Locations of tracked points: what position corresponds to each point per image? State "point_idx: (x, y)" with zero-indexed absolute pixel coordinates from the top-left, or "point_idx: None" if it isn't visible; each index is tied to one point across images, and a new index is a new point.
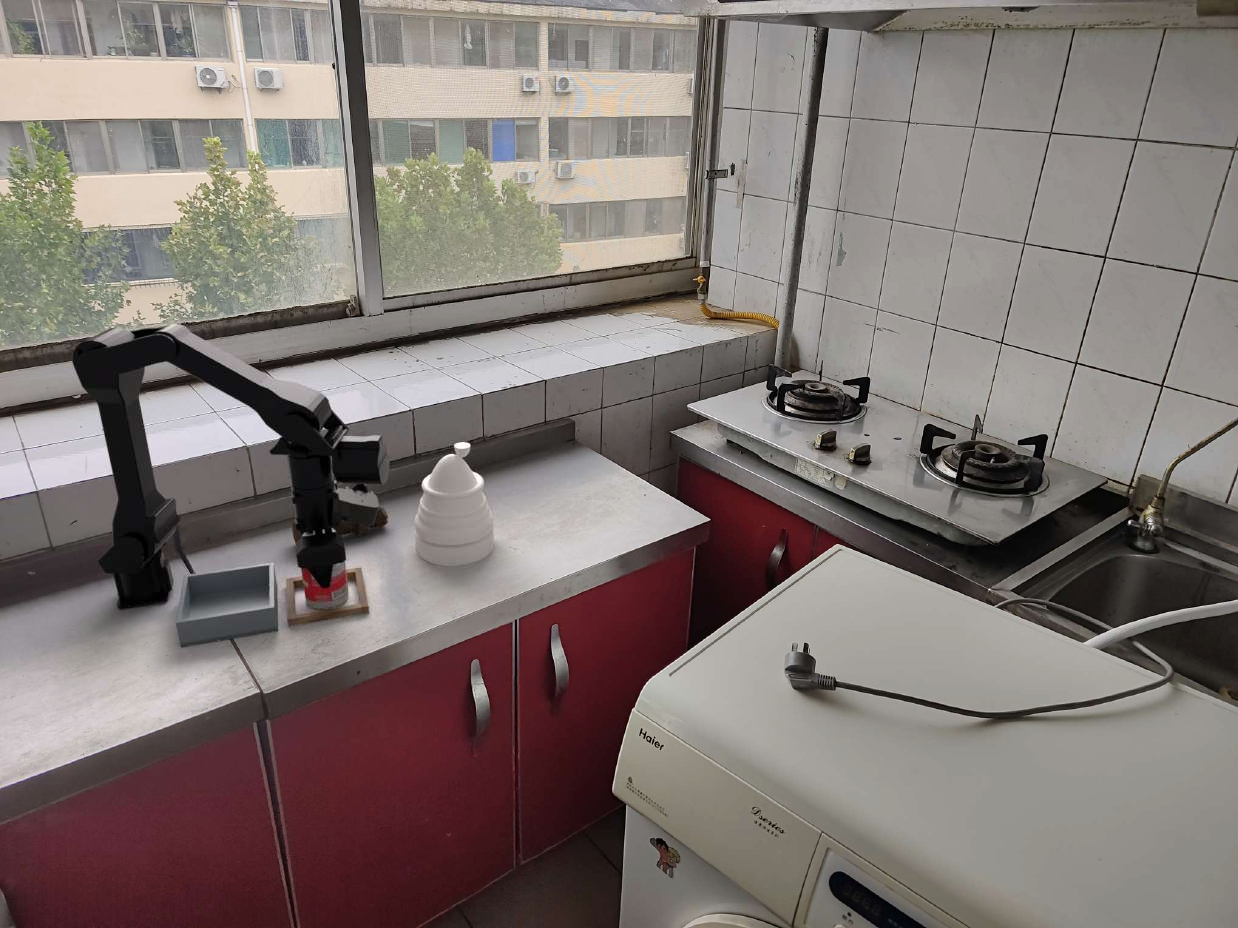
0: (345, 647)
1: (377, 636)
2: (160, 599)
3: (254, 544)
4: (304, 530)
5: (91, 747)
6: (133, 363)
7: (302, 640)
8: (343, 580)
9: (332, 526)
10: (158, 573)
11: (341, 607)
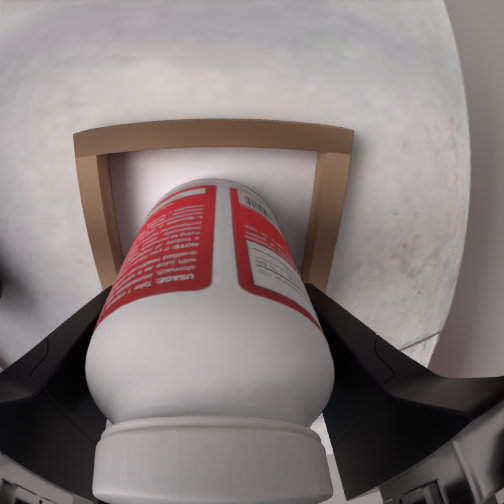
0: (439, 215)
1: (441, 139)
2: None
3: (4, 348)
4: (92, 473)
5: None
6: None
7: (371, 294)
8: (265, 226)
9: (11, 410)
10: None
11: (324, 215)
